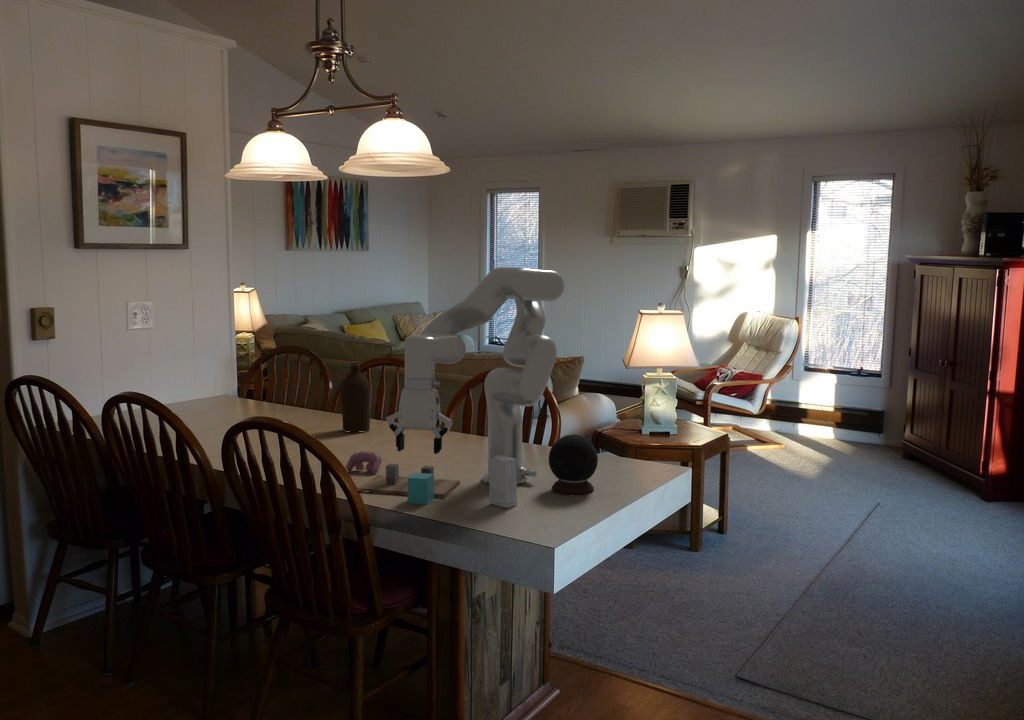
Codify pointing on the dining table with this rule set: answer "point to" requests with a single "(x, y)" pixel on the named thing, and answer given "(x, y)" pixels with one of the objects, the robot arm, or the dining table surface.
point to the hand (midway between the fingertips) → (418, 451)
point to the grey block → (392, 474)
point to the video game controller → (362, 457)
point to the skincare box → (502, 481)
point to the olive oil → (355, 400)
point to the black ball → (573, 465)
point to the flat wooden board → (401, 488)
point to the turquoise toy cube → (420, 488)
